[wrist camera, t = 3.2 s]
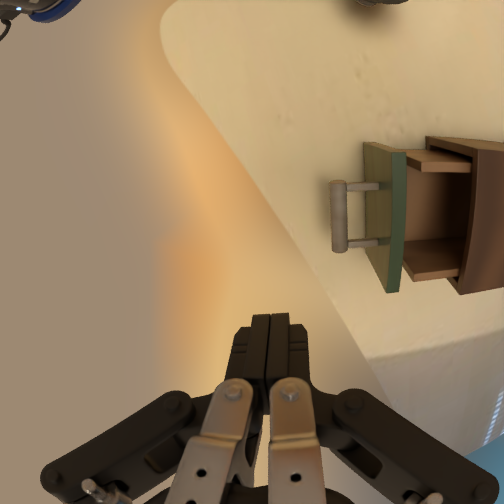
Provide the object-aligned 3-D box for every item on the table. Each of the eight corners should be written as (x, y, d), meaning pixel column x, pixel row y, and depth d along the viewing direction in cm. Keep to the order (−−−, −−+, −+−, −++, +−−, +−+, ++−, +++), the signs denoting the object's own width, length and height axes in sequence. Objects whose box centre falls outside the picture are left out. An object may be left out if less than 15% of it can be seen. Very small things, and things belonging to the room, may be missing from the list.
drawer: (326, 256, 30) (337, 298, 23) (319, 144, 25) (333, 154, 18) (468, 243, 27) (503, 276, 20) (475, 145, 23) (521, 159, 16)
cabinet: (421, 249, 29) (459, 295, 21) (425, 135, 24) (477, 148, 16) (508, 240, 27) (550, 276, 19) (517, 145, 22) (570, 162, 13)
